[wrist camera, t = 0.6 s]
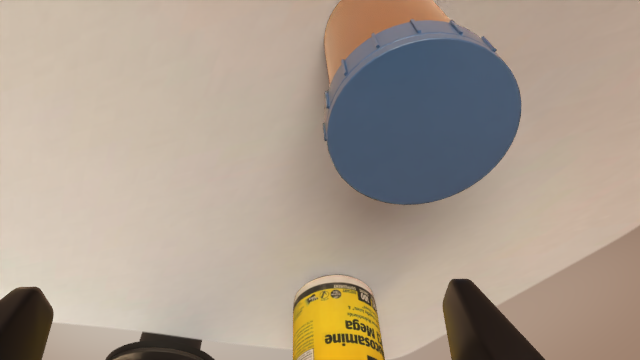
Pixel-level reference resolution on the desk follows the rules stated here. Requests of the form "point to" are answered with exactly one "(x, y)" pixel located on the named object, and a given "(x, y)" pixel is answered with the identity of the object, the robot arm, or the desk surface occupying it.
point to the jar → (369, 24)
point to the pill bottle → (336, 321)
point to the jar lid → (420, 112)
